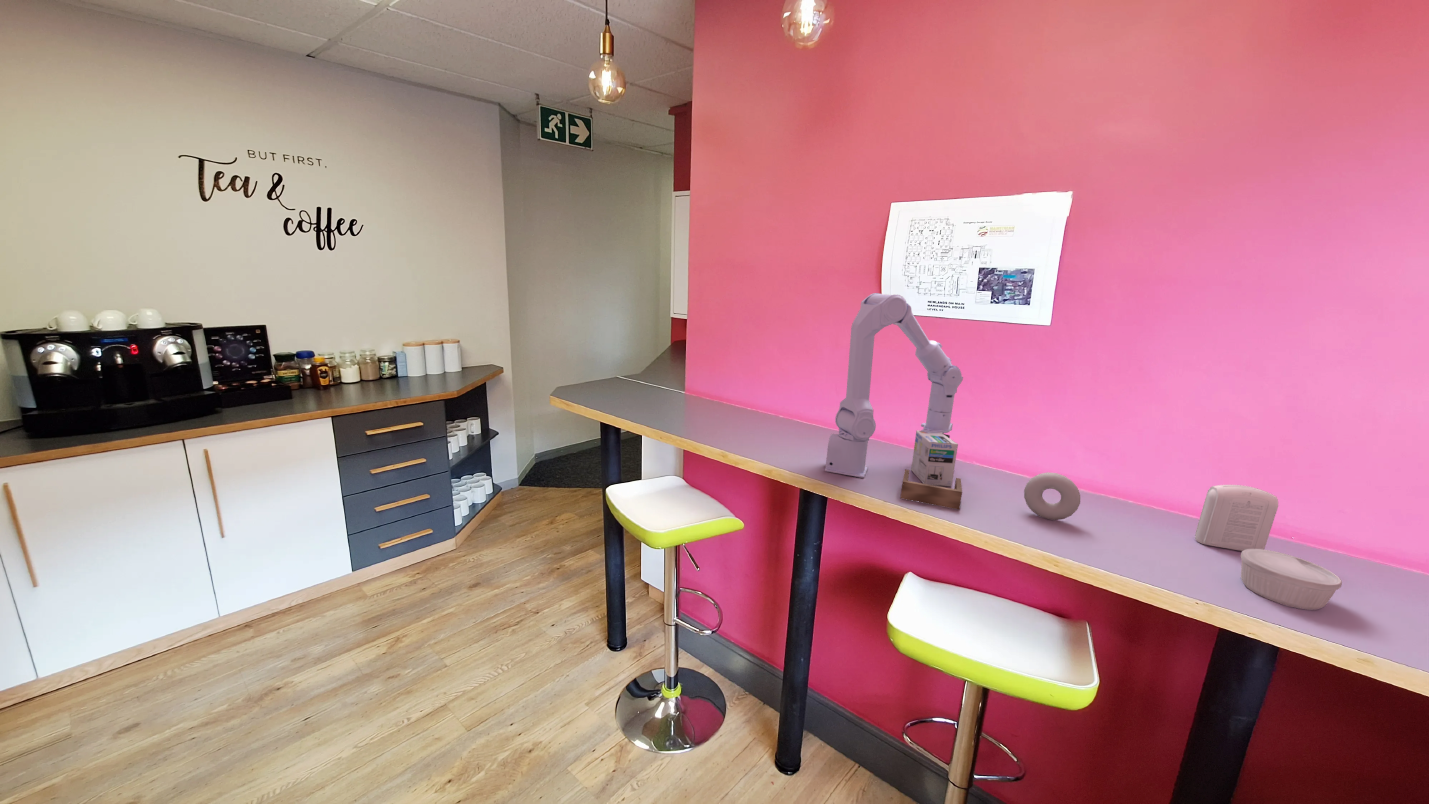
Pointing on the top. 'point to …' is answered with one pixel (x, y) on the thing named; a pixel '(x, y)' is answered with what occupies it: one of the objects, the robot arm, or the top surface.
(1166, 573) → the top surface
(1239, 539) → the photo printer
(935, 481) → the light bulb box
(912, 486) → the walnut sleeve
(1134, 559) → the top surface
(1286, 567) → the ramekin
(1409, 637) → the top surface
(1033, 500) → the donut
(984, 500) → the top surface
